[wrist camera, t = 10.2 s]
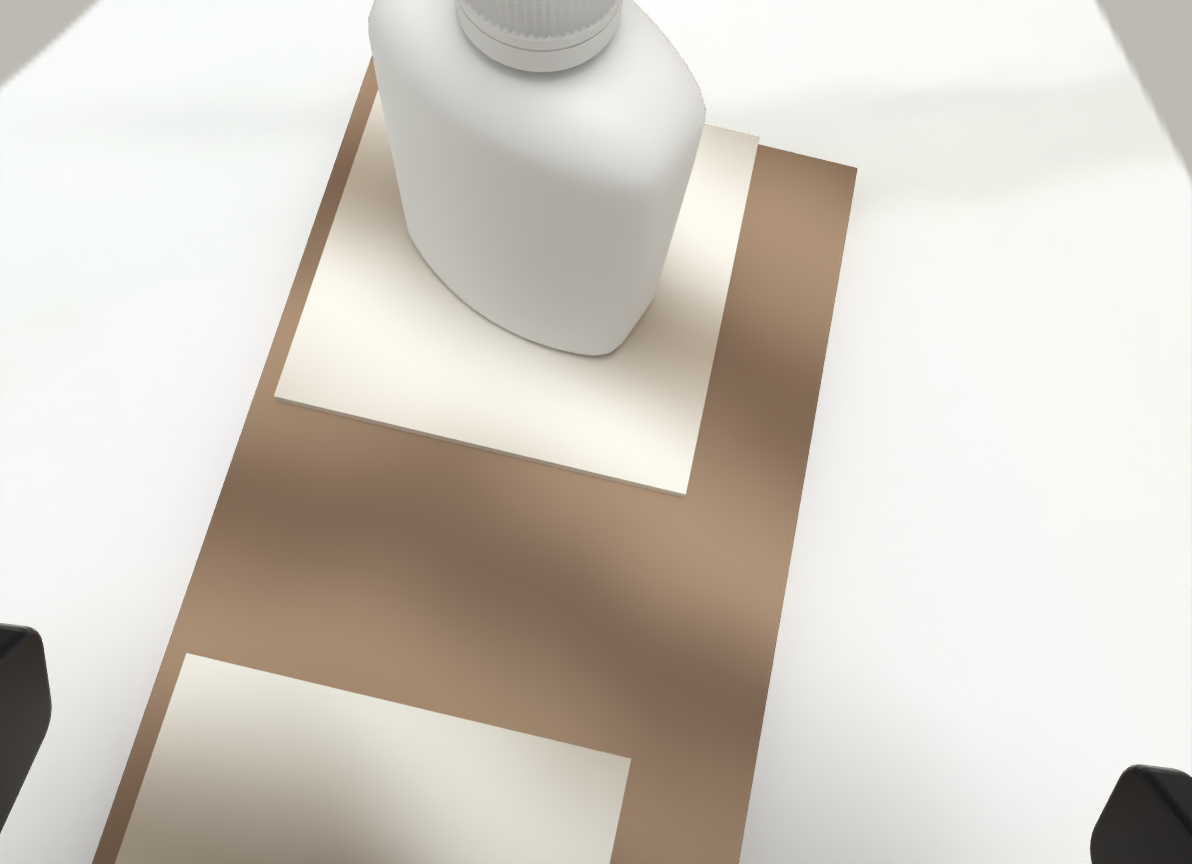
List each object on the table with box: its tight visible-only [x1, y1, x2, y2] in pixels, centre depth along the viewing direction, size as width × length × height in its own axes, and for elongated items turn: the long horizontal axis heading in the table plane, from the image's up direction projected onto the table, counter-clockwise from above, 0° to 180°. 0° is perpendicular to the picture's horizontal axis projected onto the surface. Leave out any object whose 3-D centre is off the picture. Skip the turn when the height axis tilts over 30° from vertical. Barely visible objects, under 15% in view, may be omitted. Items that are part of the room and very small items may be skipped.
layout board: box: [92, 55, 857, 864], centre depth 22 cm, size 24×12×1 cm, turn 167°
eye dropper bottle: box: [368, 0, 706, 356], centre depth 18 cm, size 4×6×12 cm
